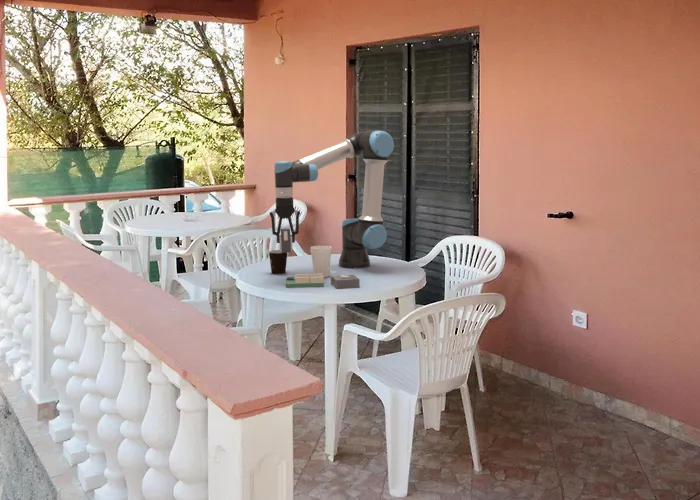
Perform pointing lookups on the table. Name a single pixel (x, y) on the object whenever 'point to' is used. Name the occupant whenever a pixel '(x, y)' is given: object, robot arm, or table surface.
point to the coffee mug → (278, 261)
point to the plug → (285, 240)
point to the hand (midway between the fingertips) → (286, 250)
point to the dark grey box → (345, 281)
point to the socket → (309, 278)
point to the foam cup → (321, 259)
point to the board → (291, 283)
